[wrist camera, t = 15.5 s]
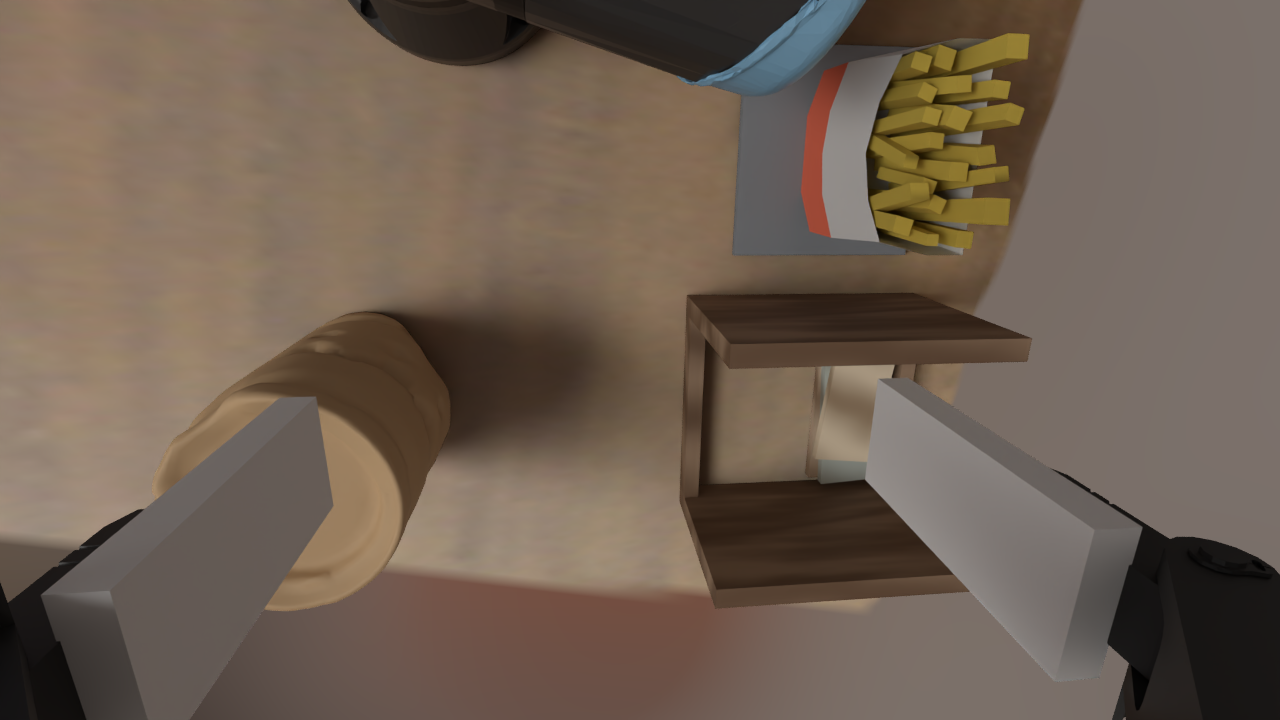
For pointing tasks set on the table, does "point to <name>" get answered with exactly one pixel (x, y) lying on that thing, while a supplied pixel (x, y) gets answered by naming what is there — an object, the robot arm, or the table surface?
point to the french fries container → (909, 145)
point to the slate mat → (787, 169)
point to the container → (340, 444)
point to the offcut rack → (820, 444)
